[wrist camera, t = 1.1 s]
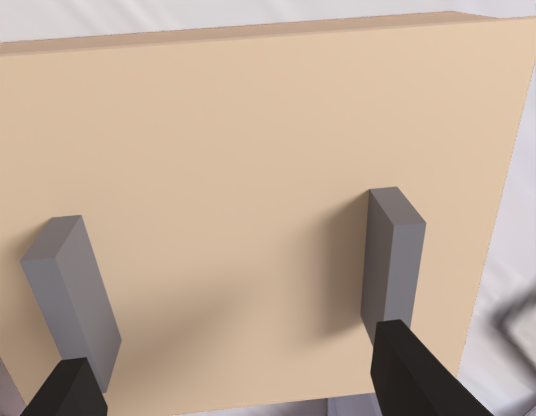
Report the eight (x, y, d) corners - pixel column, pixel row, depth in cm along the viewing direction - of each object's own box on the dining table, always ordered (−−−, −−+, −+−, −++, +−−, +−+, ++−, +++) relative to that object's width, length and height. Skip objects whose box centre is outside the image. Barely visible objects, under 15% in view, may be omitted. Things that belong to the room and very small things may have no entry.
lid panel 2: (449, 373, 21) (482, 432, 18) (251, 395, 20) (254, 458, 18) (533, 15, 13) (615, 26, 10) (209, 38, 12) (204, 56, 10)
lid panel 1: (251, 395, 20) (254, 458, 18) (44, 418, 20) (15, 487, 17) (209, 38, 12) (204, 56, 10) (-139, 64, 12) (-248, 89, 9)
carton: (409, 299, 25) (447, 365, 21) (78, 332, 24) (45, 410, 20) (451, 10, 18) (525, 22, 13) (-35, 45, 17) (-128, 69, 12)
